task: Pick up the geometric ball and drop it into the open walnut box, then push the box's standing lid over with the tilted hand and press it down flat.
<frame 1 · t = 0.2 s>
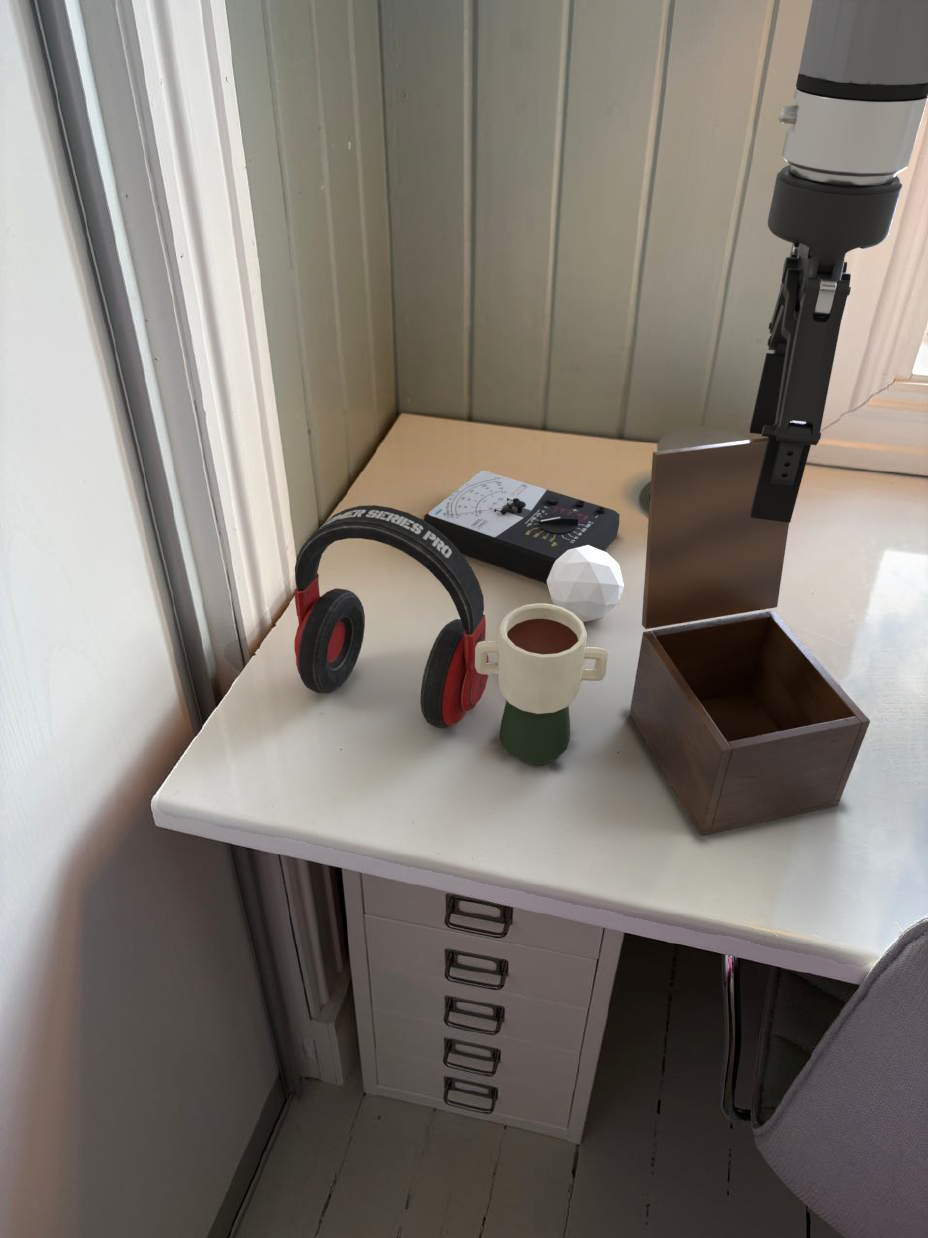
hand: (768, 472, 71), 25 cm above the table, tool pointing down, fingers open, 13 cm apart
geometric ball: (581, 613, 98), on the table
multimeter: (520, 541, 109), on the table
chest lid: (718, 534, 77), point 18 cm above the table, hinge at 99.8°
headphones: (393, 699, 87), on the table
chest: (728, 757, 82), on the table
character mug: (534, 744, 83), on the table
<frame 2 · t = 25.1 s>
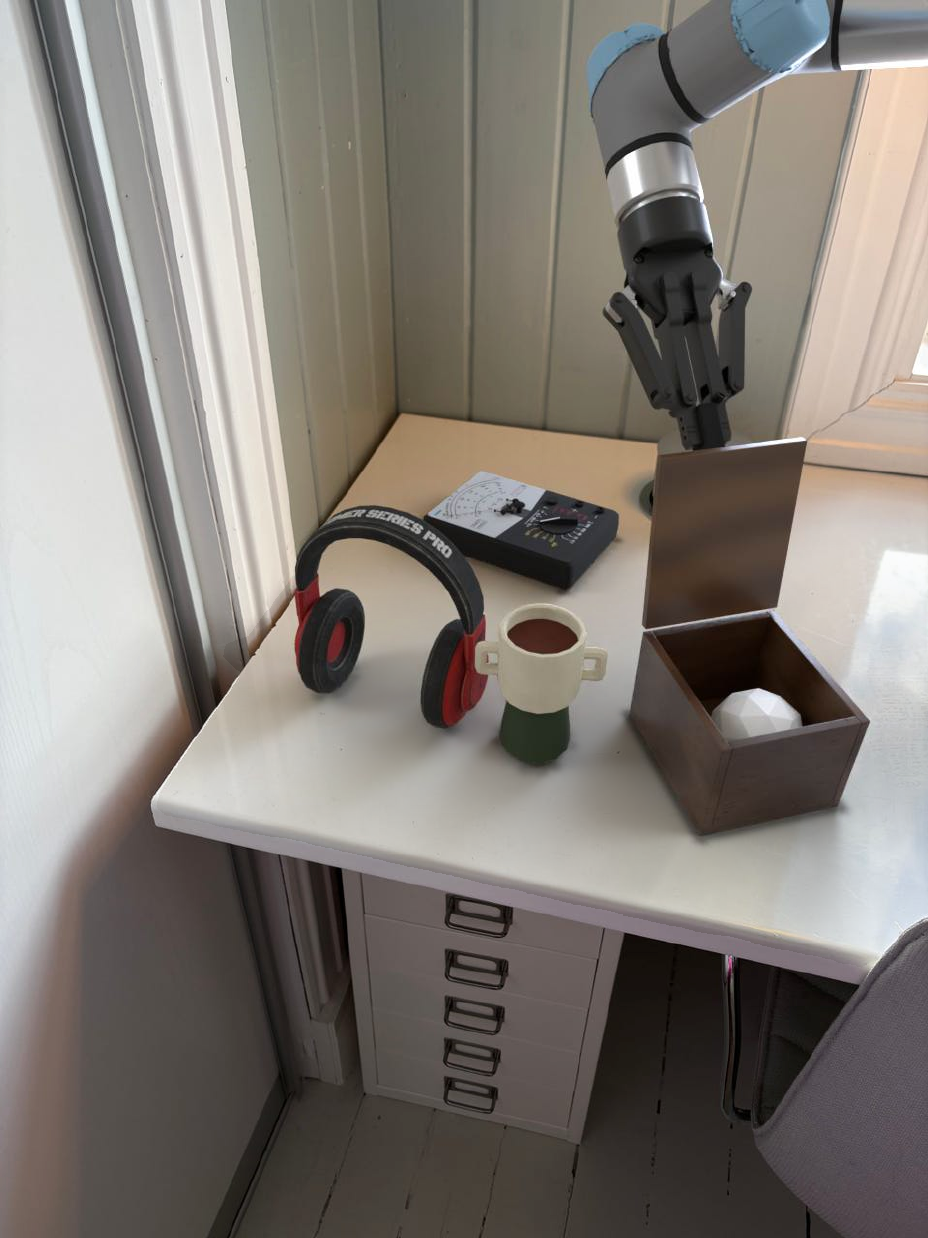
hand: (716, 484, 76), 22 cm above the table, tool tilted 45°, fingers closed
geometric ball: (746, 768, 80), point 1 cm above the table, touching chest
chest lid: (721, 536, 77), point 18 cm above the table, hinge at 96.5°, touching gripper
everything else where it was.
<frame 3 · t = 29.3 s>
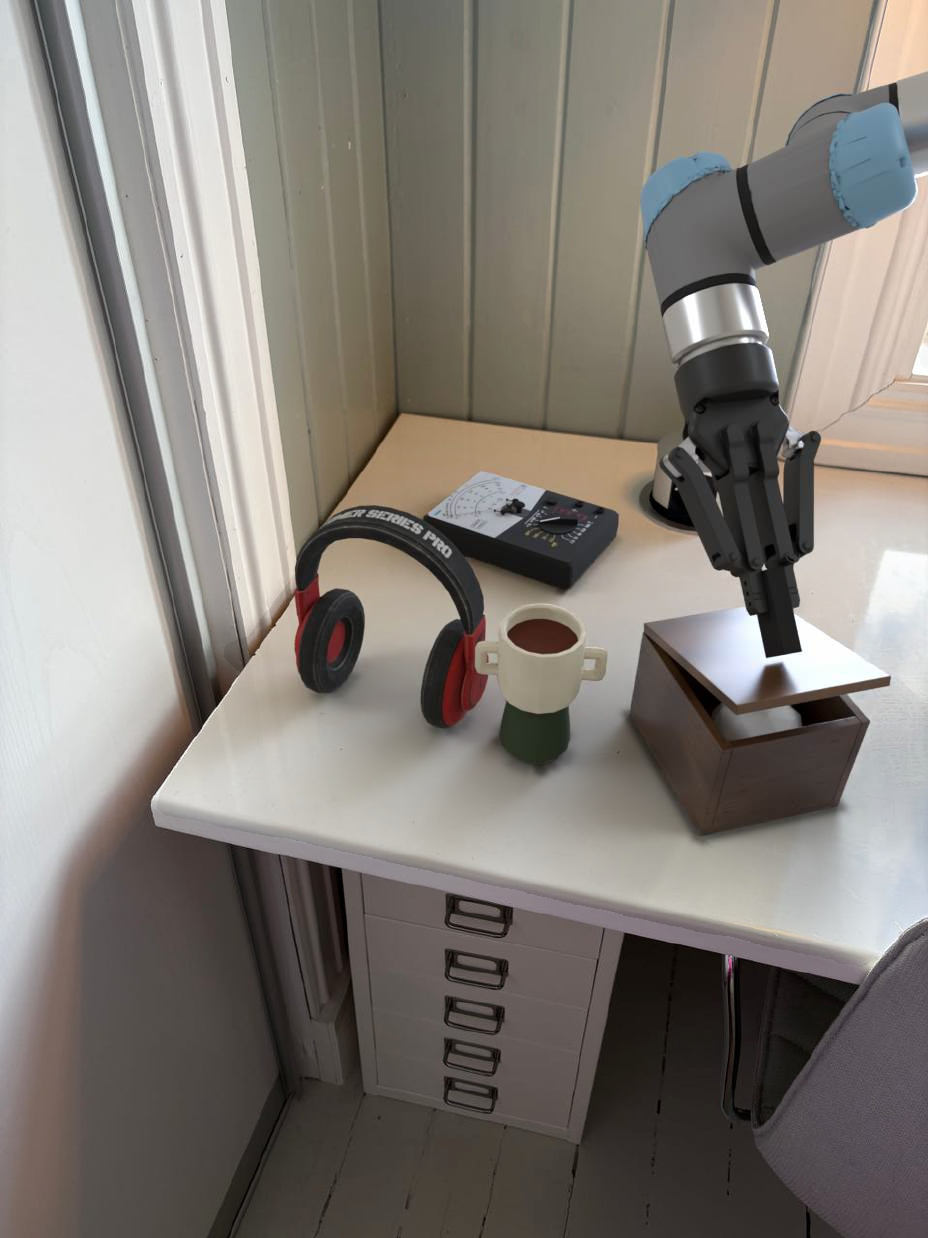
hand: (783, 654, 70), 15 cm above the table, tool tilted 45°, fingers closed
chest lid: (757, 652, 74), point 12 cm above the table, hinge at 14.8°, touching gripper
everything else where it was.
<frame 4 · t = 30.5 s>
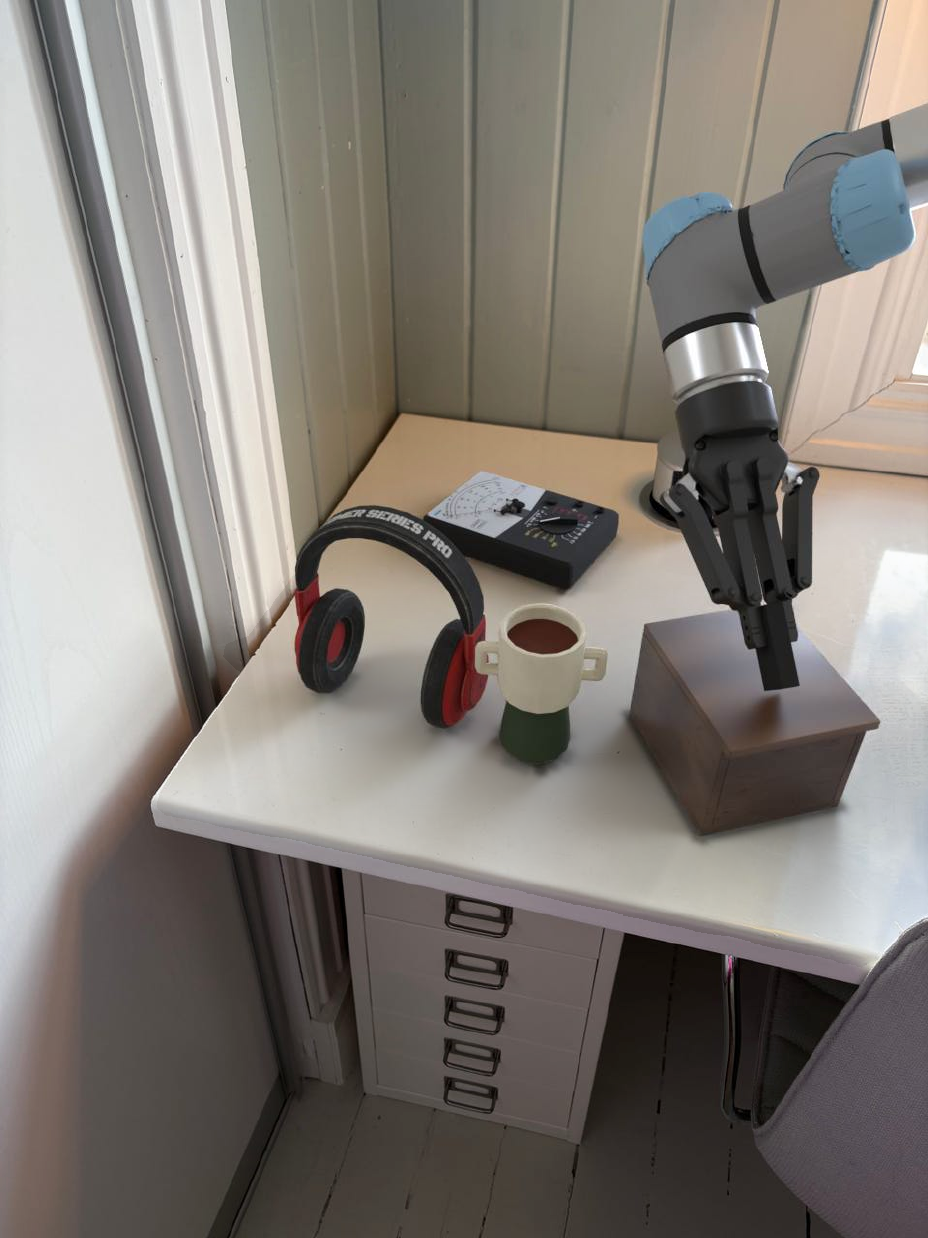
hand: (781, 688, 71), 12 cm above the table, tool tilted 45°, fingers closed
chest lid: (754, 673, 75), point 10 cm above the table, hinge at -0.2°, touching chest, gripper
everything else where it was.
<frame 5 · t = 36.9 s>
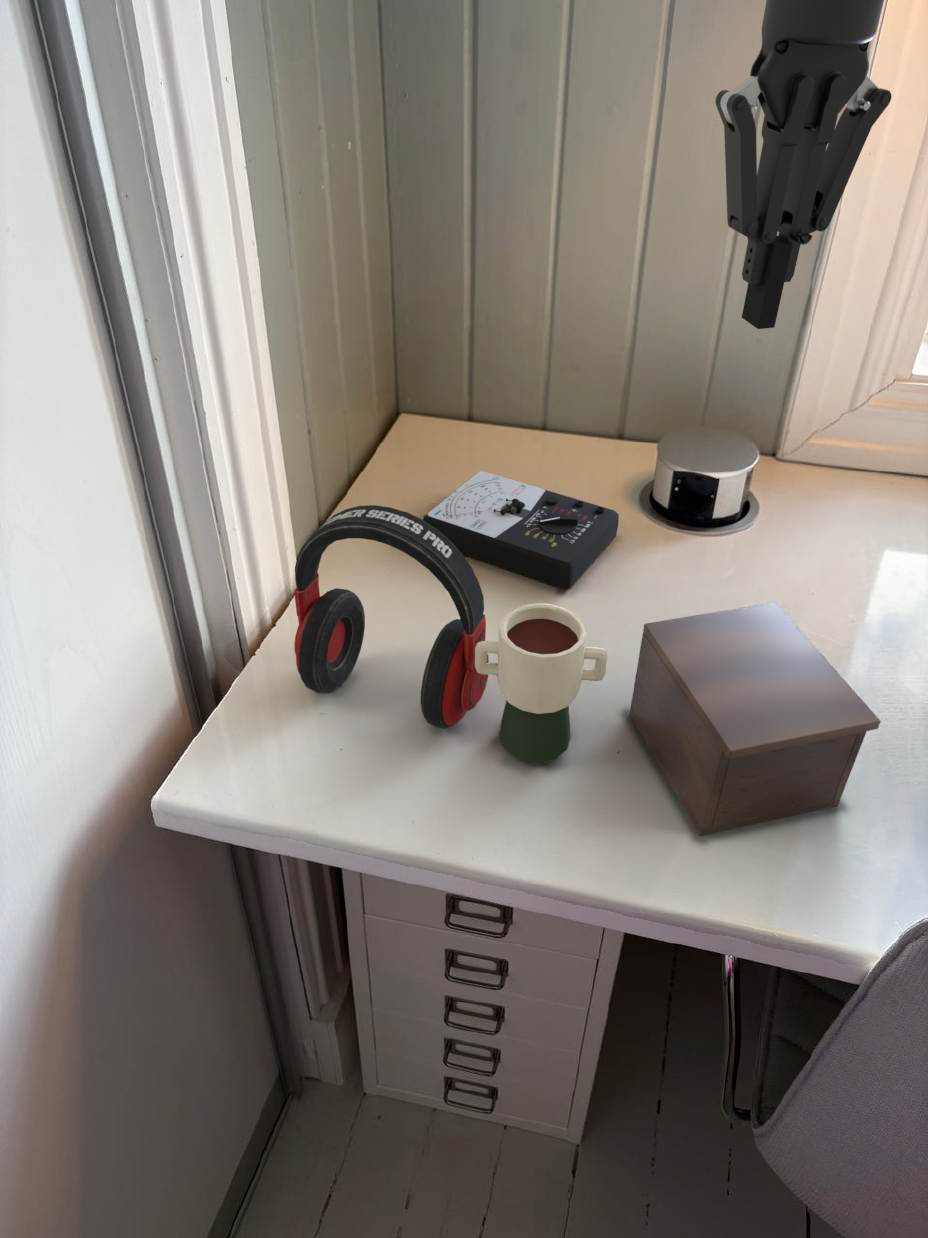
hand: (757, 322, 76), 32 cm above the table, tool pointing down, fingers closed
chest lid: (754, 673, 75), point 10 cm above the table, hinge at -0.2°, touching chest
everything else where it was.
at the end: chest lid at +0° (first picture: +100°); geometric ball inside the target area in the chest (2.2 cm from its centre), point 0.6 cm above the chest's base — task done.
